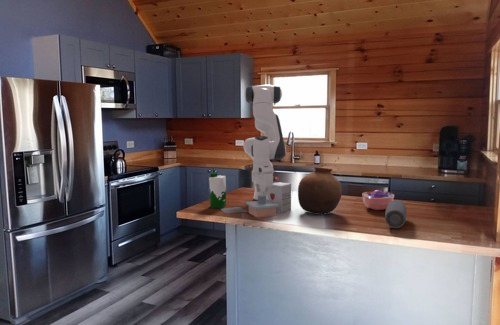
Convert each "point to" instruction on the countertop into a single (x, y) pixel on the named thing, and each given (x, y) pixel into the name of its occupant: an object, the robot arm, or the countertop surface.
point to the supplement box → (281, 196)
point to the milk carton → (217, 191)
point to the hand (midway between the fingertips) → (261, 193)
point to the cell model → (377, 199)
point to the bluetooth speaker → (395, 214)
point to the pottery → (319, 191)
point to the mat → (233, 210)
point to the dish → (262, 212)
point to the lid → (262, 203)
